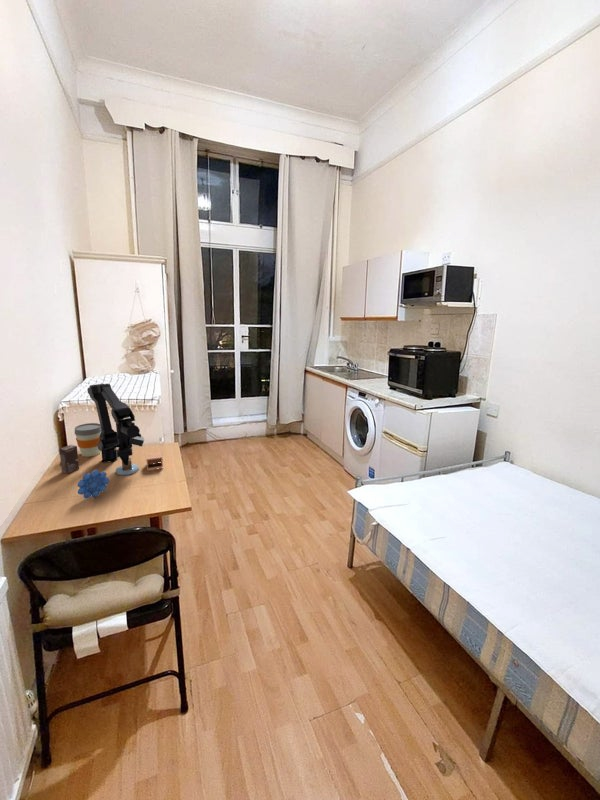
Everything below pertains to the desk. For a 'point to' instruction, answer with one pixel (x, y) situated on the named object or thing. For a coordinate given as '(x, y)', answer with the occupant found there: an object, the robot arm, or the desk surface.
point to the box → (69, 458)
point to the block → (127, 467)
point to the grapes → (93, 484)
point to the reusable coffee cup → (88, 438)
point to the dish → (127, 472)
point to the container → (154, 459)
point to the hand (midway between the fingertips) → (126, 463)
